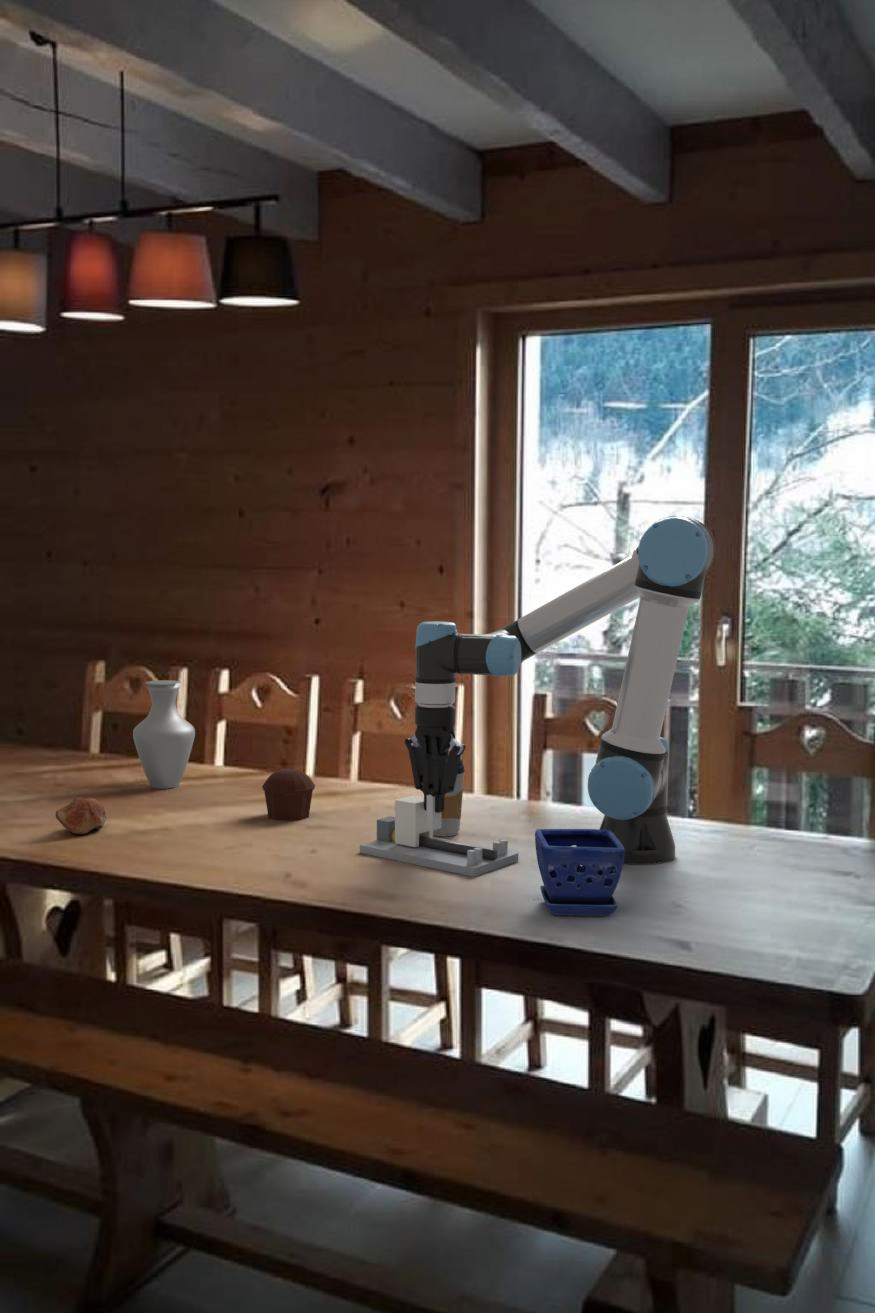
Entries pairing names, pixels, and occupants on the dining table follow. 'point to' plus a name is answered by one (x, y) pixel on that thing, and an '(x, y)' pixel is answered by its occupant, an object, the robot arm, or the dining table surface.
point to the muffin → (288, 795)
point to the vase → (164, 737)
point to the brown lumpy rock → (82, 815)
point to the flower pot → (579, 870)
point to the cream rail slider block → (410, 821)
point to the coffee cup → (452, 807)
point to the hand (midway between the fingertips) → (433, 828)
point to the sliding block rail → (439, 852)
